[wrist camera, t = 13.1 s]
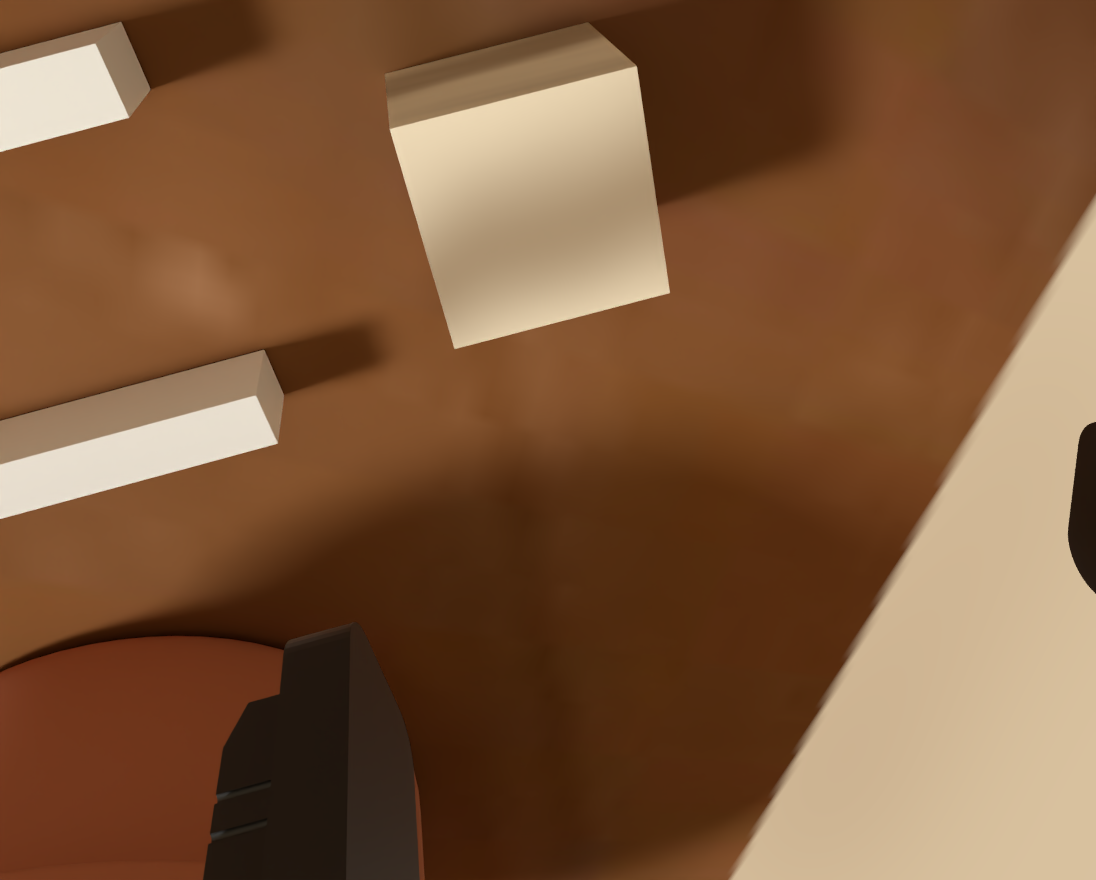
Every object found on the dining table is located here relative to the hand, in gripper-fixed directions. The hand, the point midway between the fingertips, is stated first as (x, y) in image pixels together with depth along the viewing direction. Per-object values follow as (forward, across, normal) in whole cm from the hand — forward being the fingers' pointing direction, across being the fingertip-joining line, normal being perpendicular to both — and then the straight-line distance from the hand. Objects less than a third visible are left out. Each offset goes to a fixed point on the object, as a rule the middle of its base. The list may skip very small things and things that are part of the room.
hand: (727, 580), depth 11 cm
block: (+17, 0, 0) cm, 17 cm away
